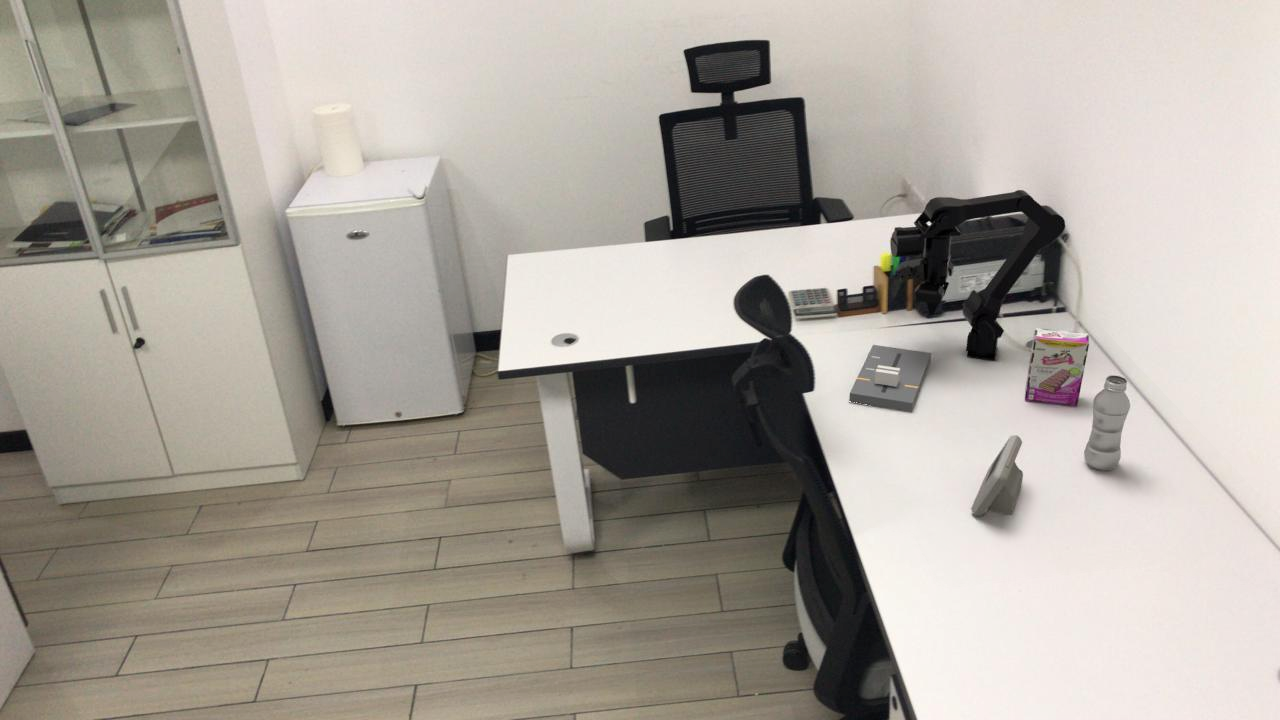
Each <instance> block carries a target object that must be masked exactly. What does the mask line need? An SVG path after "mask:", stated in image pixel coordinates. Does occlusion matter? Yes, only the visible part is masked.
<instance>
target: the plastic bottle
mask: <svg viewBox="0 0 1280 720" xmlns="http://www.w3.org/2000/svg"><path fill="white" fill-rule="evenodd" d="M1127 384H1128V380H1127V379H1126V377H1123V376H1121V375H1116V374H1115V375H1114V374H1113V375H1108V376H1107V377H1106V378H1105V381H1104V384H1103V389H1102V390H1100V391H1099V392H1098V393H1097V394H1096V395H1095V396H1094V398H1093V401H1092V426H1091V431H1090V435H1089V437H1088V441H1087V442H1086V444H1085V448H1084V452H1083V453H1084V454H1083V455H1084V460H1085V462H1086V464H1087V465H1088V466H1089V467H1091V468H1093V469H1096V470H1100V471H1110V470H1113V469H1115V468H1116V467H1117V466H1118V465H1119V463H1120V460H1121V458H1122V456H1121V455H1122V450H1121V442H1122V440H1121V439H1122V433H1123V429H1124V425H1125V423H1126V420H1127V416H1128V415H1129V411H1130V408H1131V402H1130V399H1129V397H1128V395H1127V394H1126V391H1127Z"/></svg>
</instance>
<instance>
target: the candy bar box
mask: <svg viewBox="0 0 1280 720" xmlns="http://www.w3.org/2000/svg"><path fill="white" fill-rule="evenodd" d="M1089 346H1090V337H1089V333H1087V332H1079V331H1078V332H1077V331H1066V330H1057V329H1056V330H1055V329H1049V328H1048V329H1047V328H1046V329H1045V328H1037V327H1036V328H1034V331H1033V338H1032V344H1031V350H1030V351H1031V352H1030V358H1029V364H1028V369H1027V375H1026V381H1025V382H1026V383H1025V389H1024V392H1025V393H1024V401H1026V402H1033V401H1034V403H1041V404H1042V403H1043V404H1044V403H1045V404H1053V405H1059V404H1060V405H1061V406H1069V407H1070V406H1071V407H1078V403H1079V398H1080V394H1081V388H1082V383H1083V378H1084V372H1085V368H1086V363H1087V357H1088V351H1089Z"/></svg>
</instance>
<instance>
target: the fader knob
mask: <svg viewBox="0 0 1280 720" xmlns="http://www.w3.org/2000/svg"><path fill="white" fill-rule="evenodd" d="M899 379H900V368H894V367H888V366H881V365H878V367H877V369H876V371H875V384H882V385H888V386H895V387H897V385H898V382H899Z"/></svg>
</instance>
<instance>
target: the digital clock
mask: <svg viewBox="0 0 1280 720" xmlns="http://www.w3.org/2000/svg"><path fill="white" fill-rule="evenodd" d="M1022 444H1023V441H1022V439H1021V437H1020V436H1019V435H1017V434H1015V435H1010V436H1009V438H1007V441H1006V442H1005V443H1004V446H1002V449H1001V450H1000V451H999V453H998V454H997V456H995V459H994V460H993V462H992V463H991V465H990V466H989V468H988V469H987V472H986V473H985V476H984V478H983V480H982V483H981V484H980V487H979V490H978V492H977V494H976V497H975V499H974V500H973V504H972V506H971V511H972V513H973V515H974V516H978V517H980V516H984V515H985V513H986V512H987V511H992V512H996V513H1001V514H1004V515H1009V516H1010V515H1012V513H1013V511H1014V508H1015V506H1016V504H1017V500H1018V498H1019V496H1020V493H1021V490H1022V486H1023V485H1022V484H1023V477H1024V472H1023V471H1022V470H1021V469H1020V468H1019V467H1018V465H1017V463H1016V458H1017V457H1018V455H1019V452H1020V449H1021V447H1022Z"/></svg>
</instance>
